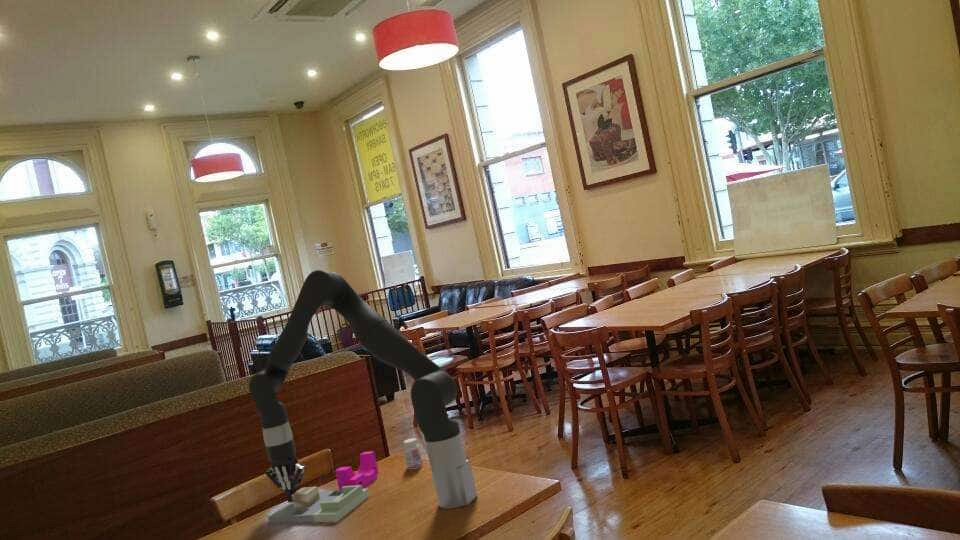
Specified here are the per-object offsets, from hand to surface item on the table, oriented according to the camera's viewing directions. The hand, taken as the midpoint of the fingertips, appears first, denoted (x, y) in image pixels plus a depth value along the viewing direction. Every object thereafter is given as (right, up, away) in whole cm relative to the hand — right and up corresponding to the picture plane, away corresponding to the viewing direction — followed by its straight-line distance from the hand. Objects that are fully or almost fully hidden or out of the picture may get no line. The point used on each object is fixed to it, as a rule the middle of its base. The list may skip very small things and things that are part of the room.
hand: (292, 501), depth 187 cm
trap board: (+9, -2, -3) cm, 9 cm away
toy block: (+18, 0, +13) cm, 22 cm away
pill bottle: (+32, +4, +18) cm, 37 cm away
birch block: (+4, 0, -2) cm, 5 cm away
